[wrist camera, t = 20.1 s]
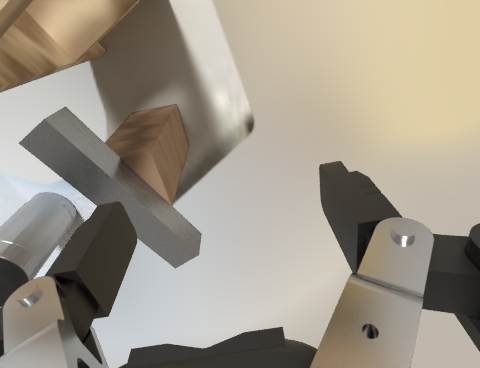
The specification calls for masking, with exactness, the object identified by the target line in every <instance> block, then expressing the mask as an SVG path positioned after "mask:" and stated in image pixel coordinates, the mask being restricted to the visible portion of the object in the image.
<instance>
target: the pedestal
mask: <svg viewBox="0 0 480 368" xmlns="http://www.w3.org/2000/svg"><path fill="white" fill-rule="evenodd" d="M105 144H106V145H107V146H108V147H109V148H110V149H112V150H113V151H114V152H115V153H116V154H117V155H118V156H119V157H120V158H121V159H122V160H123V161H124V162H125V163H126V164H128V165H129V166H130V167H131V168H132V169H133V170H134V171H135V172H136V173H137V174H138V175H139V176H140V177H141V178H143V179H144V180H145V181H146V182H147V183H148V184H149V185H150V186H151V187H152V188H153V189H154V190H155V191H156V192H158V193H159V194H160V195H161V196H162V197H163V198H164V199H165V200H166V201H167V202H168V203H169V204H170V205H171V206H172V205H173V202H174V198H175V195H176V191H177V188H178V184H179V181H180V177H181V174H182V170H183V166H184V163H185V159H186V156H187V152H188V149H189V143H188V139H187V136H186V133H185V130H184V127H183V123H182V120H181V117H180V114H179V110H178V107H177V104H174V105H169V106H164V107H159V108H154V109H149V110H144V111H140V112H135V113H132V114H131V115H130V116H129V117H128V118H127V119H126V120H125V122H124V123H123V124H122V125H121V126H120V127H119V128H118V129H117V130H116V131H115V132H114V133H113V134H112V136H111V137H110V138H109V139H108V140H107V141H106V142H105Z"/></svg>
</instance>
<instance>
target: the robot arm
mask: <svg viewBox="0 0 480 368" xmlns="http://www.w3.org/2000/svg"><path fill="white" fill-rule="evenodd" d="M319 170H320V171H319V173H320V193H321V194H320V195H321V203H322V208H323V211H324V214H325V216H326V218H327V220H328V222H329V224H330V226H331V228H332V230H333V232H334V234H335V236H336V239H337V241H338V243H339V245H340V247H341V249H342V251H343V253H344V255H345V257H346V260H347V262H348V264H349V266H350V268H351V270H352V272H353V273H352V274H351V275H350V276H349V278H348V281H347V283H346V285H345V288H344V290H343V292H342V294H341V297H340V299H339V301H338V304H337V306H336V308H335V310H334V313H333V316H332V318H331V320H330V322H329V324H328V327H327V329H326V331H325V334H324V336H323V338H322V341H321V343H320V345H319V348H318V349H316V348H314V347H312V346H310V345H307V344H305V343H302V342H298V341H295V340H288V339H285V337H284V332H283V327H279V328H272V329H264V330H258V331H251V332H244V333H242V334H239V335H237V336H235V337H232V338H230V339H228V340H225V341H223V342H220V343H218V344H215V345H213V346H211V347H208V348H202V349H201V348H194V347H186V346H180V345H173V344H162V345H155V346H149V347H142V348H135V349H131V352H130V355H129V359H128V363H127V364H125V365H123V366H121V367H119V368H411V363H412V357H413V352H414V347H415V342H416V337H417V331H418V325H419V321H420V315H421V310H422V309H427V310H434V311H441V312H448V313H454V314H455V316H456V317H457V319H458V320H459V322H460V323H461V324H462V326H463V328H464V329H465V331H466V332H467V334H468V335H469V336H470V338H471V339H472V341H473V342H474V344H475V345H476V347H477V348H478V350H479V351H480V224H477V225H475V226H473V227H472V229H471V230H470V234H469V236H468V237H467V236H451V235H450V236H449V235H438V234H432V232H431V231H430V230H429V229H428V228H427V227H426V226H424V225H423V224H421V223H419V222H417V221H415V220H411V219H408V218H403V217H402V216H401V215H400V214H399V212H398V211H397V210H396V209H395V208H394V207H393V205H392V204H391V203H390V202H389V201H388V199H387V198H386V197H385V196H384V195H383V194H381V191H380V190H379V189H378V188H377V187H376V186H375V184H374V183H373V182H372V181H371V180H370V178H369V177H368V176H365V175H364V174H362V173H360V172H358V171H353V172H348V170H347V169H346V167H345V166H344V165H343V163H342V162H341V161H336V162H331V163H325V164H321V165H320V167H319ZM76 218H77V213H76V209H75V207H74V206H73V205H72V203H71V202H69V201H68V200H67V199H66V198H64V197H62V196H60V195H57V194H54V193H40V194H37V195H35V196H34V197H33V198H32V199H31V200H30V201H29V202H27V203H25V204H24V205H23V206H22V207H21V208H20V209H19V210H18V211H17V212H16V213H15V214H14V215H13V216H11V217H10V218H9V219H8V220H7V221H6V222H5V223H4V224H3V225H2V226H1V227H0V307H1V308H0V368H109V367H108V365H107V362H106V359H105V357H104V354H103V351H102V349H101V346H100V343H99V340H98V338H97V335H96V333H95V330H94V329H93V327H92V326H91V324H92V322H93V319H96V318H102V317H108V316H109V314H110V312H111V309H112V306H113V304H114V301H115V299H116V296H117V293H118V291H119V288H120V286H121V283H122V281H123V278H124V276H125V273H126V270H127V268H128V265H129V263H130V260H131V258H132V255H133V252H134V249H135V247H136V244H137V234H136V230H135V228H134V226H133V224H132V222H131V220H130V218H129V216H128V214H127V212H126V210H125V208H124V206H123V205H122V203H121V202H119V201H116V202H110V203H105V204H100V205H98V206H97V207H96V209H95V210H94V212H93V213H92V215H91V216H90V218H89V219H87V220H86V221H85V222H84V223H83V224H82V225H81V226H79V227H78V228H77V230H76V231H75V233H74V234H73V235H72V237H71V240H69V241H68V243H67V244H66V246H65V248H64V249H63V250H62V251H61V253H60V254H59V256H58V257H57V259H56V260H55V262H54V263H53V264H52V266H51V267H50V269H49V270H48V272H47V273H46V275H45V276H43V277H39V278H36V279H34V277H35V276H36V275H37V273H38V272H39V270H40V269H41V268H42V266H43V265H44V263H45V262H46V261H47V259H48V258H49V257H50V255H51V254H52V252H53V251H54V250H55V248H56V247H57V245H58V244H59V243H60V241H61V240H62V239H63V237H64V236H65V234H66V233H67V232H68V230H69V229H70V228H71V226H72V225H73V223H74V222H75V221H76Z"/></svg>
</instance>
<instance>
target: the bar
mask: <svg viewBox="0 0 480 368" xmlns="http://www.w3.org/2000/svg"><path fill="white" fill-rule="evenodd" d="M19 144H20V145H22V146H23V147H24V148H25V149H27V150H28V151H29V152H31V153H32V154H33V155H34V156H36V157H37V158H38V159H39V160H40V161H42V162H43V163H44V164H45V165H47V166H48V167H49V168H51V169H52V170H53V171H54V172H55V173H57V174H58V175H59V176H60V177H62V178H63V179H64V180H65V181H67V182H68V183H69V184H70V185H72V186H73V187H74V188H75V189H77V190H78V191H79V192H80V193H82V194H83V195H84V196H85V197H87V198H88V199H89V200H90V201H92V202H93V203H94V204H95V205H97V206H98V205H100V204H105V203H110V202H116V201H119V202H121V203H122V205H123V206H124V208H125V210H126V212H127V214H128V216H129V218H130V220H131V222H132V224H133V226H134V228H135V230H136V234H137V238H138V239H139V240H141V241H142V242H143V243H144V244H146V245H147V246H148V247H149V248H151V249H152V250H153V251H154V252H156V253H157V254H158V255H159V256H161V257H162V258H163V259H164V260H166V261H167V262H168V263H169V264H171V265H172V266H173V267H174V268H177V267H179V266H180V265H182V264H184V263H185V262H187V261H189V260H191V259H192V258H194V257H196V256H198V255H199V250H200V242H201V233H200V232H199V231H198V230H197V229H196V228H195V227H194V226H193V225H192V224H191V223H190V222H188V221H187V220H186V219H185V218H184V217H183V216H182V215H181V214H180V213H179V212H178V211H177V210H176V209H175V208H174V207H172V206H171V205H170V204H169V203H168V202H167V201H166V200H165V199H164V198H163V197H162V196H161V195H160V194H159V193H158V192H156V191H155V190H154V189H153V188H152V187H151V186H150V185H149V184H148V183H147V182H146V181H145V180H144V179H143V178H141V177H140V176H139V175H138V174H137V173H136V172H135V171H134V170H133V169H132V168H131V167H130V166H129V165H128V164H126V163H125V162H124V161H123V160H122V159H121V158H120V157H119V156H118V155H117V154H116V153H115V152H114V151H113V150H112V149H110V148H109V147H108V146H107V145H106V144H105V143H104V142H103V141H102V140H101V139H100V138H99V137H98V136H96V135H95V134H94V133H93V132H92V131H91V130H90V129H89V128H88V127H87V126H86V125H85V124H84V123H83V122H82V121H81V120H79V119H78V118H77V117H76V116H75V115H74V114H73V113H72V112H71V111H70V110H69V109H68V108H67V107H64V108H62V109H61V110H59V111H57V112H56V113H54V114H52V115H50V116H49V117H47V118H46V119H44V120H43V121H42V122H41V123H40V124H39V125H38V126H36V127H35V128H34V129H33V130H32V131H31V132H30V133H29V134H28V135H27V136H26V137H25V138H24V139H23V140H22V141H21V142H19Z"/></svg>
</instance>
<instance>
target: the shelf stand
mask: <svg viewBox="0 0 480 368" xmlns="http://www.w3.org/2000/svg"><path fill="white" fill-rule="evenodd" d="M139 1H140V0H0V92H3V91H6V90H8V89H11V88H14V87H17V86H19V85H22V84H25V83H28V82H30V81H33V80H36V79H39V78H42V77H44V76H47V75H50V74H53V73H55V72H58V71H61V70H64V69H67V68H69V67H72V66H75V65H78V64H80V63H83V62H86V61H89V60H92V59H94V58H97V57H100V56H102V55H103V54H104V53H105V52H106V50H105V49H104V48H103V47H102V46H101V45H100V44H99V41H100V40H101V39H102V38H103V37H104V36H105V35H106V34H107V33H108V32H109V31H110V30H111V29H112V28H113V27H114V26H115V25H116V24H117V23H118V22H119V21H120V20H121V19H122V18H123V17H124V16H125V15H126V14H127V13H128V12H129V11H130V10H131V9H132V8H133V7H134V6H135V5H136V4H137V3H138V2H139Z"/></svg>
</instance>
